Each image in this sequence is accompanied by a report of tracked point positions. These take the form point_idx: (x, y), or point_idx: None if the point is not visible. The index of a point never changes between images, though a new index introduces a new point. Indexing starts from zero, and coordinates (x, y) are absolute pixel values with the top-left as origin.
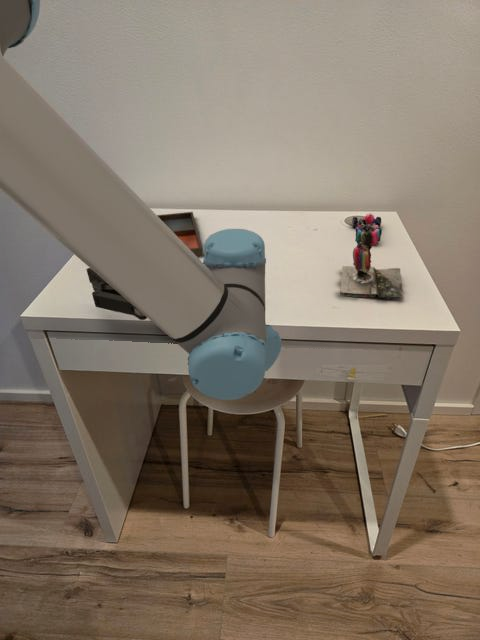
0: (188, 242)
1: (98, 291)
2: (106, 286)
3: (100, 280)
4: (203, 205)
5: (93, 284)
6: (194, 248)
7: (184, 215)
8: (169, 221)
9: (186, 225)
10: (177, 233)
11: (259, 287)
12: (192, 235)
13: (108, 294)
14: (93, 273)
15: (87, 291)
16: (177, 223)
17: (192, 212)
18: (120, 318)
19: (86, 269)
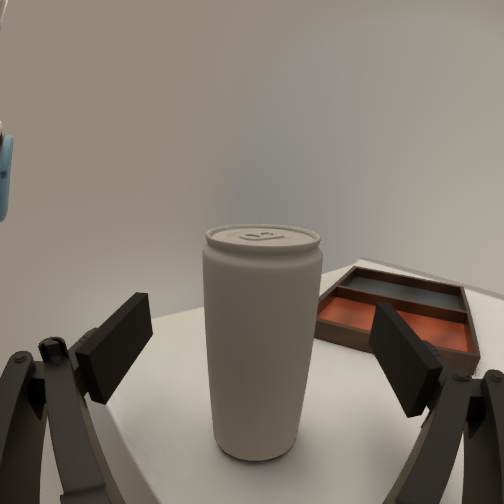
0: (450, 334)
1: (28, 360)
2: (61, 364)
3: (93, 336)
4: (473, 286)
5: (83, 337)
6: (465, 352)
7: (450, 288)
8: (425, 291)
9: (450, 304)
10: (435, 311)
11: None
12: (458, 323)
13: (11, 391)
14: (121, 309)
15: (189, 353)
16: (436, 297)
17: (462, 287)
18: (142, 468)
19: (136, 293)
